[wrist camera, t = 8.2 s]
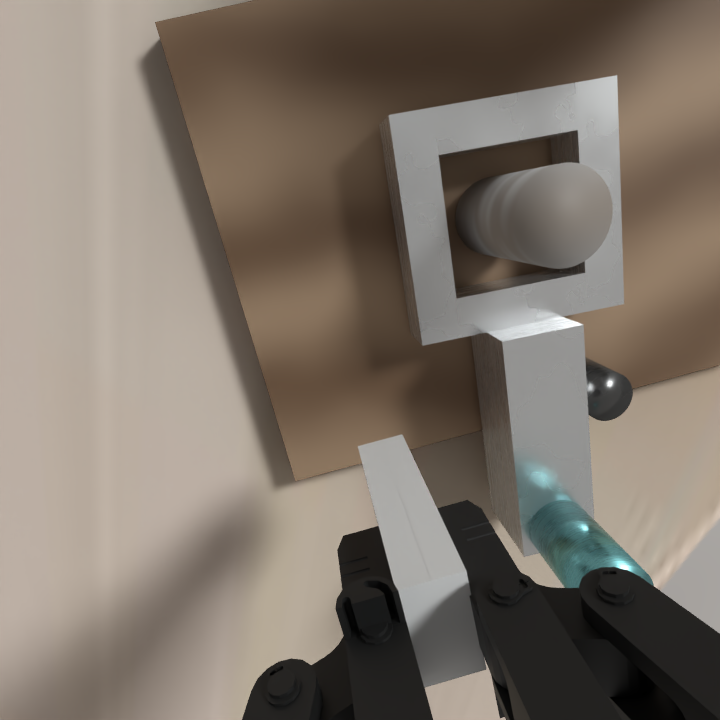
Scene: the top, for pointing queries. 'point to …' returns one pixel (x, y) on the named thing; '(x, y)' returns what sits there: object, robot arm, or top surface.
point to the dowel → (606, 391)
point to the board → (444, 192)
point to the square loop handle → (518, 312)
